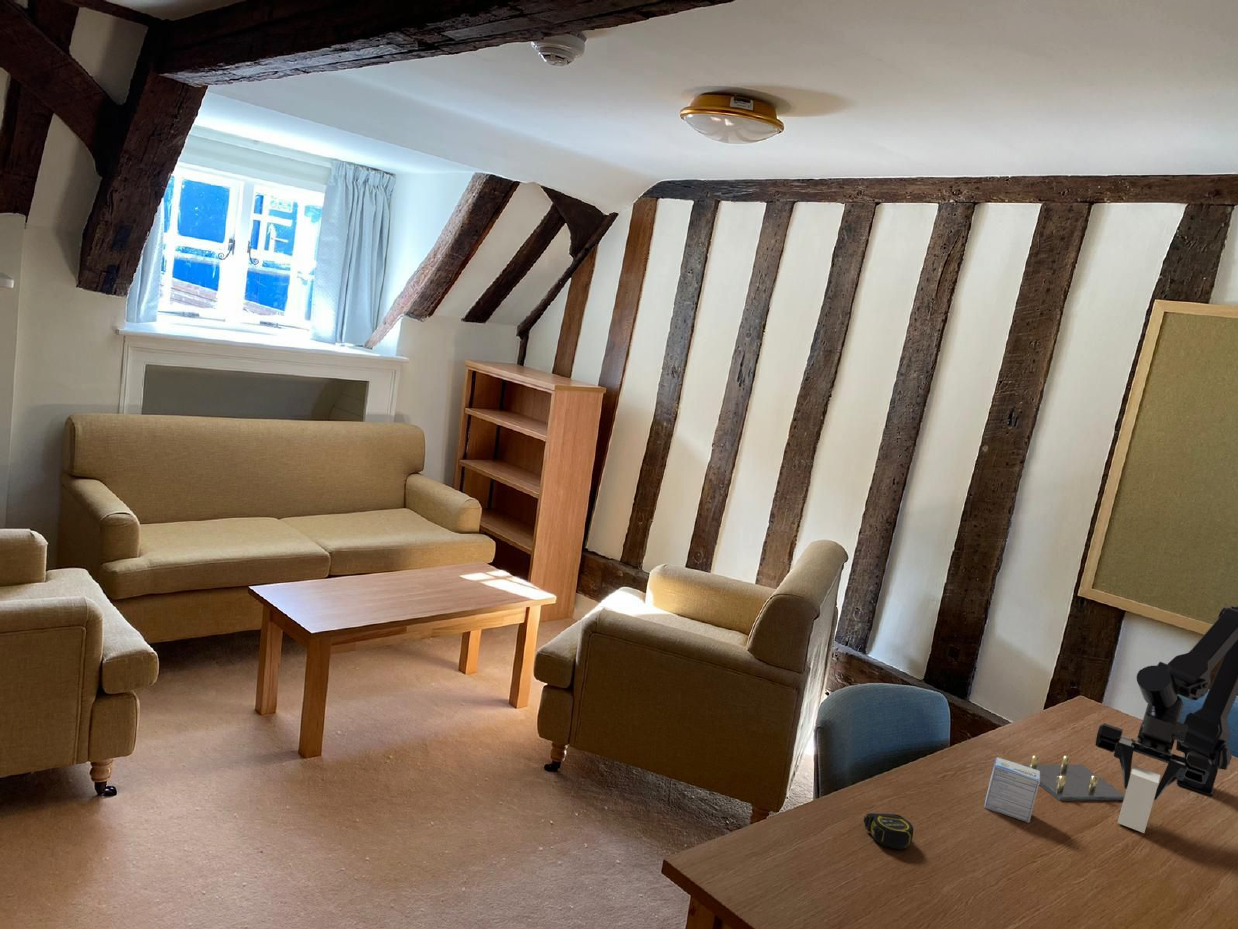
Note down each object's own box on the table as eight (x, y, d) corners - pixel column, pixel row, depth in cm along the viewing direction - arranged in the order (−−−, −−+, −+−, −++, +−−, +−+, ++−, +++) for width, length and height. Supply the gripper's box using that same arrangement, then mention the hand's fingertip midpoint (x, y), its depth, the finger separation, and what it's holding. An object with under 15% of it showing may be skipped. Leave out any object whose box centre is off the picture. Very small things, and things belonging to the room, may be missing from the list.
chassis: (1081, 768, 200) (1085, 751, 199) (1125, 800, 188) (1130, 782, 188) (1017, 768, 195) (1022, 751, 194) (1059, 800, 183) (1064, 782, 183)
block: (1120, 813, 181) (1133, 765, 179) (1146, 824, 179) (1160, 775, 177) (1117, 822, 177) (1131, 773, 176) (1144, 833, 175) (1158, 783, 173)
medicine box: (1030, 813, 176) (1041, 770, 175) (1029, 824, 172) (1040, 780, 171) (985, 798, 180) (996, 756, 178) (983, 808, 176) (994, 765, 174)
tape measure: (898, 830, 163) (903, 810, 162) (917, 855, 157) (922, 834, 156) (861, 829, 162) (865, 808, 161) (878, 853, 155) (883, 832, 155)
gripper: (1111, 683, 182) (1088, 755, 175) (1224, 719, 172) (1205, 797, 165) (1106, 709, 190) (1084, 779, 183) (1214, 746, 180) (1195, 821, 173)
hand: (1140, 793), depth 176 cm, fingers closed on block, 4 cm apart
